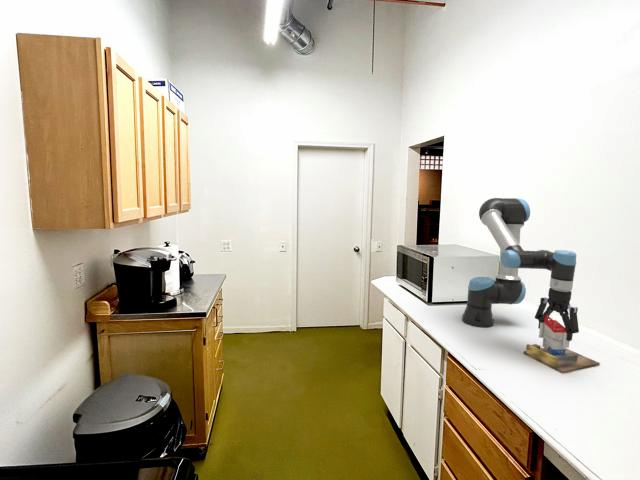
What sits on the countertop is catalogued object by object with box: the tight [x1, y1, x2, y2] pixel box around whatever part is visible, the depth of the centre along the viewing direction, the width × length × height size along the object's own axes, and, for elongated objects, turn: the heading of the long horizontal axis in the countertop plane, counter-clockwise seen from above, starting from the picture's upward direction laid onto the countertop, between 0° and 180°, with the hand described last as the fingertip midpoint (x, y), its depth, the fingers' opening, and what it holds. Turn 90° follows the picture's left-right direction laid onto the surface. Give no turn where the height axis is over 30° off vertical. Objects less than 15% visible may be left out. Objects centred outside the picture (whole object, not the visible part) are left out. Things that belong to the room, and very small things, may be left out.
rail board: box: [523, 343, 601, 374], centre depth 146 cm, size 17×21×4 cm
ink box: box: [542, 315, 567, 356], centre depth 144 cm, size 8×5×15 cm, turn 173°
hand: (553, 342), depth 144 cm, fingers closed on ink box, 9 cm apart
